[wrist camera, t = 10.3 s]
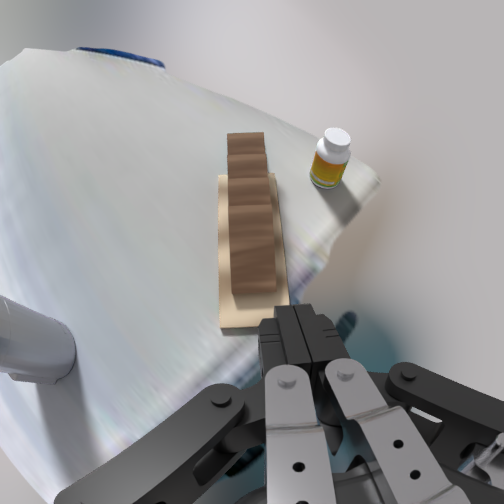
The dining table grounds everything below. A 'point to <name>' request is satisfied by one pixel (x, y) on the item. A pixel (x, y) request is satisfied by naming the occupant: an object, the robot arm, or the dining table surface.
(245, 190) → the domino
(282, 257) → the domino board
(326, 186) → the supplement bottle
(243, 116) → the dining table surface
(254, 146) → the domino
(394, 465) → the robot arm
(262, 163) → the domino
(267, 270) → the domino
